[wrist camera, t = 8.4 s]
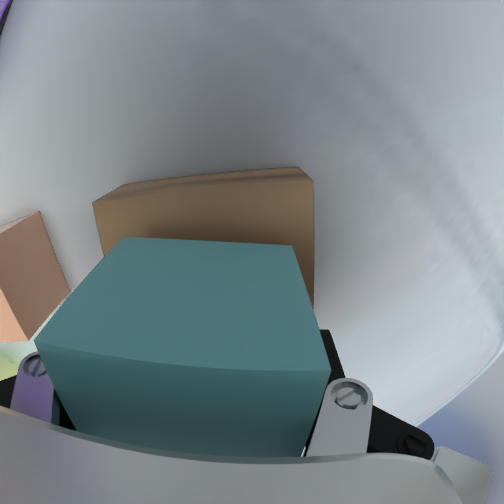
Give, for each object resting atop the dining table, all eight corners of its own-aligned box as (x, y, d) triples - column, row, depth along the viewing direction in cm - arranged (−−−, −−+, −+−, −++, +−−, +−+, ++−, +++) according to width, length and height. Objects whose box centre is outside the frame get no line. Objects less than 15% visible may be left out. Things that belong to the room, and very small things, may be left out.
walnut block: (125, 183, 15) (92, 202, 12) (297, 166, 15) (313, 179, 12) (157, 325, 19) (140, 367, 15) (300, 316, 19) (311, 360, 15)
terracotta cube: (-9, 230, 16) (-60, 263, 11) (40, 210, 16) (-18, 244, 11) (19, 299, 18) (-21, 342, 13) (70, 290, 18) (28, 340, 13)
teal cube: (123, 236, 11) (33, 340, 5) (292, 245, 11) (331, 369, 5) (141, 361, 13) (103, 473, 8) (274, 371, 13) (285, 492, 8)
